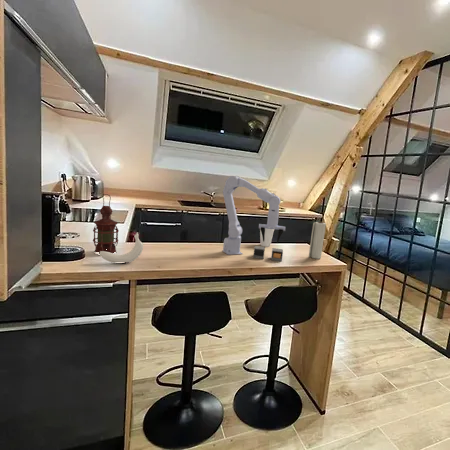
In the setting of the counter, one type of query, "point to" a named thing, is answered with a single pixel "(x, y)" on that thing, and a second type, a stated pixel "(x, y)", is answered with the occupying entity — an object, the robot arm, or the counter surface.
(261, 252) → the grey hollow cube
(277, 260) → the open grey box
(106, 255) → the banana
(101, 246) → the lantern
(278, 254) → the orange block
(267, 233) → the foam cup
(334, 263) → the counter surface
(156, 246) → the counter surface
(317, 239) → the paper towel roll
